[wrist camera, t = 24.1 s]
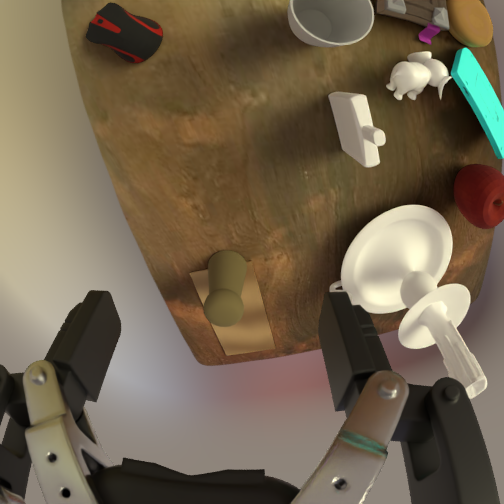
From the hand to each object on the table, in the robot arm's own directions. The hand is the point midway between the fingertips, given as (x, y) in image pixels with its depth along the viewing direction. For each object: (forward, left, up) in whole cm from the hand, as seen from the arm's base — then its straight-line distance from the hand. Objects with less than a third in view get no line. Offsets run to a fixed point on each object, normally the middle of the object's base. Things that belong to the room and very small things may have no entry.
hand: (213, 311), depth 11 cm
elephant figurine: (+8, +25, -30) cm, 40 cm away
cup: (-5, +18, -30) cm, 36 cm away
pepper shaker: (+12, -15, -30) cm, 35 cm away
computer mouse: (-22, +2, -30) cm, 37 cm away
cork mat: (+20, -21, -30) cm, 42 cm away
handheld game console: (+17, +33, -26) cm, 46 cm away
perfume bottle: (+7, +12, -30) cm, 33 cm away
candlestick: (+29, +4, -30) cm, 42 cm away
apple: (+28, +23, -30) cm, 47 cm away
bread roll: (+2, +37, -28) cm, 47 cm away
